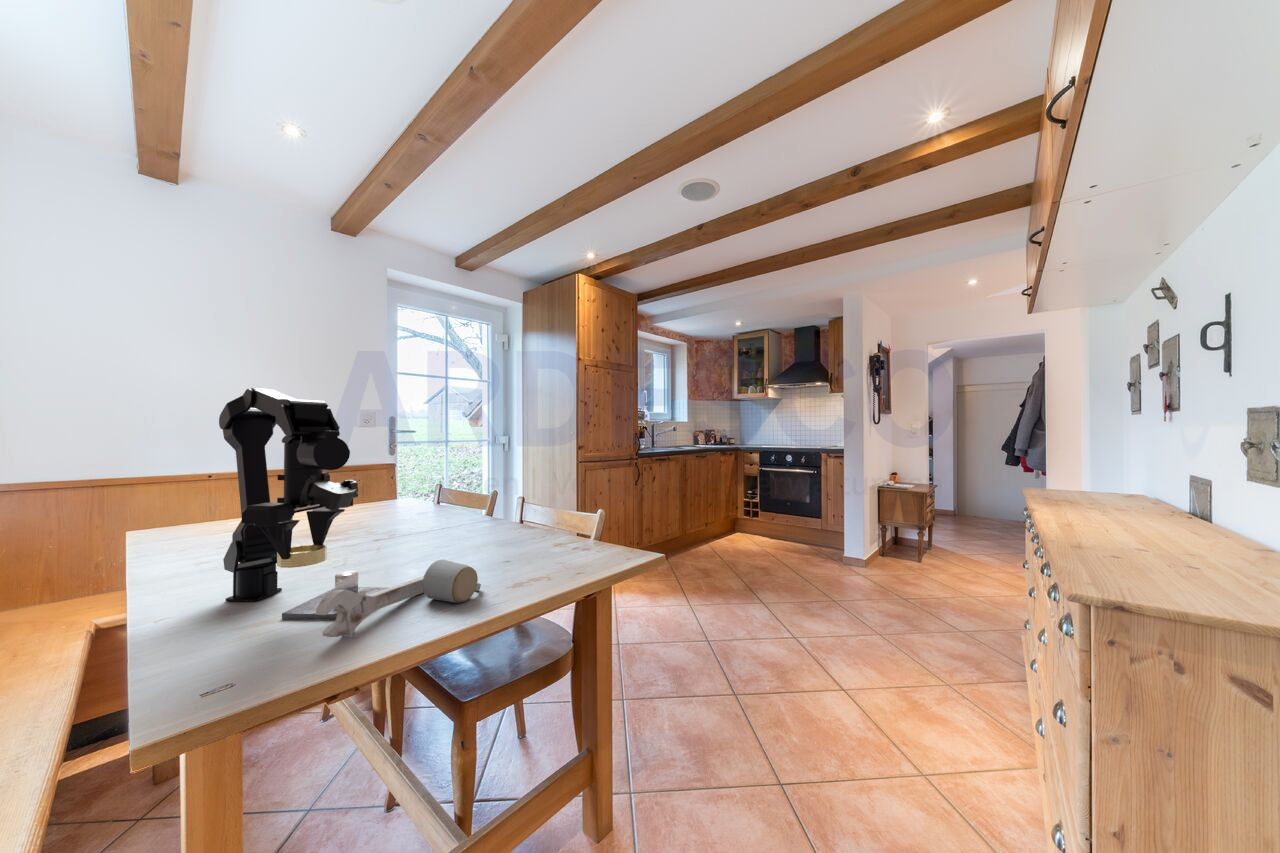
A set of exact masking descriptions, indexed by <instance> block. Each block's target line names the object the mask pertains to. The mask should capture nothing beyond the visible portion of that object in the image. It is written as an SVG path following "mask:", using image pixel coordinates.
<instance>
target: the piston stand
mask: <svg viewBox="0 0 1280 853" xmlns="http://www.w3.org/2000/svg"><path fill="white" fill-rule="evenodd" d="M390 587H391V586H390ZM390 587H386V586H384V587H383V586H380V587H379V586H378V587H377V586H376V587H375V586H374V587H372V586H371V587H370V586H360V587H359V571H357V570H345V571H341V572H337V573H336V574H335V575H334V588H331V589H329V590H327V591H326V592H323V593H322V594H318V596H316V597H313V598H311V599H309V600H307V601H304V602H303V603H301V604H299V605H297V606H295V607H292V608H291V609H288V610H286V611H284V612H282V613H281V620H316V619H329V620H330V621H332V620H335V621H336V617H337V614H338V613H337V609H336V608H334V609H332V610H331V611H330V612H329V613H328V614H326V615H316V610H317V607H318V605H319V603H320V602H321V600H322V599H323V598H324V597H325V596H326V595H327V594H328V593H330V592H332V591H334V590H349V591H351V592H354V593H357V594H360V595H366V596H367V595H370V594H373V593H376V592H378V591H381V590H384V589H387V588H390Z"/></svg>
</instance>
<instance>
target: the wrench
mask: <svg viewBox="0 0 1280 853" xmlns="http://www.w3.org/2000/svg"><path fill="white" fill-rule="evenodd" d="M423 578H424V575H423V576H420V577H417V578H414V579H411V580H408V581H405V582H403V583H400V584H397V585H394V586H390V588H387V589H384V590H381V591H378V592H376V593H373V594H370V595H367V596H366V595H360V594H357V593H354V592H351V591H349V590H334V591H332V592H330V593H328V594H327V595H326V596H325V597H324V598H323V599H322V600H321V602H320V603H319V605H318V607H317V610H316V615H326V614H328V613H329V612H330V611H331V610H332V609H334V608H336V609H337V613H338V614H337V617H336V620H335V621H332V622H331V623H330V624H329V625H327V626H326V627H325V628H324V629H323V630H322V631H321V633H322V636H323V637H327V638H339V637H352V636H353V634H354V633H355V630H356V629H357V628H358V627H359V625H360V624H361V623H362V622H363V621H364V619H365V618H366V617H368V616H369V615H370V614H371V613H373V612H375V611H377V610H380V609H382V608H385V607H388V606H391V605H394V604H396V603H399V602H402V601H404V600H407V599H410V598H412V597H415V596H417V595H418V596H419V595H421V594H424V592H423V586H422V584H423Z"/></svg>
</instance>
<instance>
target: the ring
mask: <svg viewBox="0 0 1280 853" xmlns="http://www.w3.org/2000/svg"><path fill="white" fill-rule="evenodd" d="M327 554H328V546H327V545H326V544H324V543H323V544H313V543H308V544H299V545H293V546H291V552H290V557H289V559H281V557H280V555H279V554H278V552H277V563H276V567H278V568H283V569H284V568H287V569H289V568H290V569H292V568H294V569H295V568H301V567H302V568H303V567H309V566H314V565H317V564H319V563H322V562H325V561H326V560H327V558H328V557H327V556H328V555H327Z"/></svg>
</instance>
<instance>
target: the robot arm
mask: <svg viewBox="0 0 1280 853" xmlns="http://www.w3.org/2000/svg"><path fill="white" fill-rule="evenodd" d="M218 425H219V428H220V430H222V433H223V439H224V440H225V442H226V443H227V444H228V445H229V446H230V447H231V448H232V449H233V450H234V451H235V459H236V469H237V470H236V471H237V482H238V490H239V491H238V493H239V504H240V514H241V516H240V517H241V521H240V522H239V523H238V525H237V527H236V528H235V530H234V532H232V535H231V536H232V537H231V538H232V541H231V543H230V544H229V547H228V548H227V550H226V553H225V555H224V557H223V569H224V570H225V571H228V572H230V573H232V574H233V575H232V577H233V580H232V595H231V596H228V597H226V598H225V602H258V601H260V600H263V599H265V598H267V597H270V596H272V595H274V594H278V593H279V592H282V591H283V588H282V587H278V573H279V572H278V571H277V552H278V554H279V555H280V557H281V559H289V557H290V552H291V547H292V540H293V539H292V538H293V529H294V528H295V527H296V526H297V525H298V523H299V522H300V521H301V520H300V519H293V518H294V516H295V514H296V513H302V512H305V511H306V516H307V521H308V526H309V530H310V535H311V540H312V542H313V543H312V544H323V545H324V543H325V541H326V538H327V536H328V533H329V530H330V527H331V525H332V523H333V522H334V520H335V518H337V517H338V516H339V515H340V514H342V513H344V512H345V511H346V509H347V508H349V507H353V506H354V499H356V498H358V497H359V493H358V492H359V485H358V482H357V481H356V480H354V479H345V480H343V481H342V482H333V481H331V475H330V473H329V472H324V471H336V470H339V469H340V468H343V466H345V465H346V464H347V463H348V461H349V459H350V456H351V450H350V448H349V445H348V444H347V443H346V442H345V441H344V440H343V439H341V438H339V437H340V434H341V432H340V425H339V424H338V422H337V420H336V419H335V417H334V414H333V412H332V408H330V407H329V405H328V403H327V402H326V401H325V400H313V399H311V400H310V399H298V398H295V397H292V396H289V395H286V394H284V393H281V392H280V391H279V390H276V389H273V388H272V389H271V388H259V387H251V388H246V389H245V391H244V392H243V394H242V395H240V396H239V397H237V398H234V399H233V400H230V401H229V402H227V403H226V404H225V406H224V407H223V409H222V411H221V412H220V415H219V418H218ZM276 425H277V426H278V427H279V428H280V429H281V431H282V432H283V434H284V435H285V436H283V437H282V439H281V443H283V444H284V445H283V446H284V447H283V449H284V450H283V452H284V454H283V473H282V474H277V481H283V496H279V497H276V498H277V500H276V502H271V496H270V495H271V494H270V487H269V486H270V484H269V477H268V466H267V455H266V445H267V444H268V442H269V441H270V439H271V438H272V437H273V435H274V428H275V427H276Z"/></svg>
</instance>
